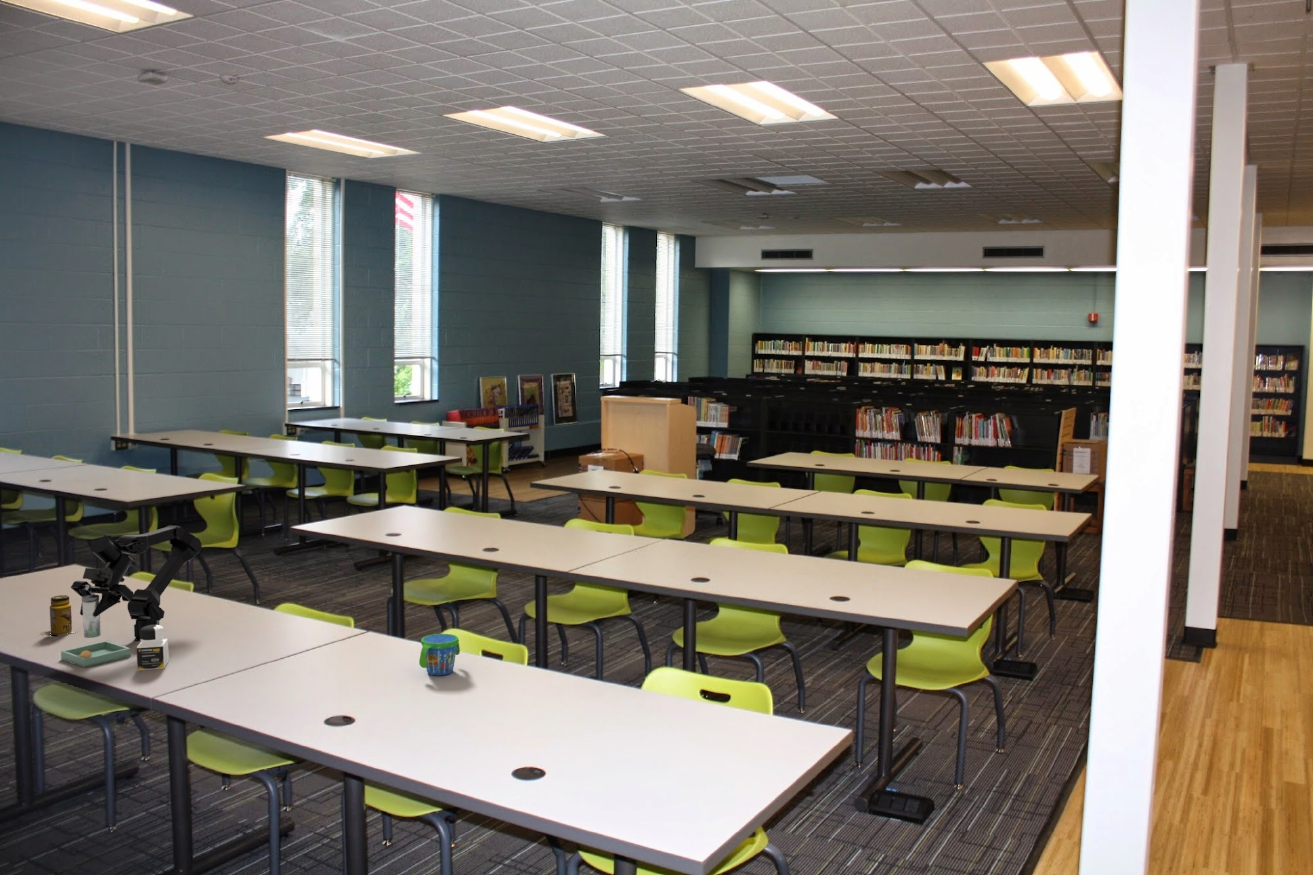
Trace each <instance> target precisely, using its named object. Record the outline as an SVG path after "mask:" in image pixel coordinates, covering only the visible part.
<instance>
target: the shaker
mask: <svg viewBox="0 0 1313 875" xmlns="http://www.w3.org/2000/svg"><path fill="white" fill-rule="evenodd" d="M99 602H100V595H99V594H95V595H87V596H83V597H81V605H82V606H83V616H82V621H83V622H82V623H83V625H82V626H83V638H85V639H92V638H94V639H95V638H97V637H101V634H102V633H101V632H102V631H101V614H99V615H98V616H96V617H94V616H93V614H94V611H95V609H96V608H97V606H98V604H99Z"/></svg>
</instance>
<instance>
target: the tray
mask: <svg viewBox="0 0 1313 875" xmlns="http://www.w3.org/2000/svg"><path fill="white" fill-rule="evenodd" d="M85 650H88V651H90V652H91V654H92V656H91V657H89V658H83V657H80V654H81V653H82V652H83V651H85ZM131 656H132V654H131V648H130V647H128V646H124V645H121V644H118V643H115V642H112V641H109V640H103V641H99V642H94V643H91V644H87V645H82V646H77V647H74V648H69V649H65V650H61V651H60V658H61V659H63V660H62V661H64V660H66V661H65V662H67V661H69V662H68V663H70V662H72V663H74V664H73V665H75V664H77V665H76V666H78V665H79V667H81V666H82V667H81V668H83V667H84V669H85V668H89V666H90V667H94V666H97V665H102V664H105V663H110V662H114V661H118V660H122V659H125V658H131ZM61 659H60V660H61ZM72 663H71V664H72Z"/></svg>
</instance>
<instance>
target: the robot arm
mask: <svg viewBox="0 0 1313 875" xmlns="http://www.w3.org/2000/svg"><path fill="white" fill-rule="evenodd" d="M164 542H168V544H169V545H170V546H171V547H170V556H169V557H168V558H167V560H166V561H165V562H164V564H163V565H162V566H161V568H160V569H159V571H158V572H157V573H156V574H155V576H154V577H153V579H152V580H151V581H150V582H149V584H148V586H146V588H144V589H142V588H137V589H136V590H135V591H134V592H133V591H132V589H130V588H129V587H128V586H127V585H126V584H120V583H124V582H125V580H126V579H125V578H124V575H125V574H126V572H127V571H128V569H129V568H130V567H136V566H137V562H136V560H135V559H136V558H135V557H131V556H129V555H141V554H142V553H144V552H146V551H147V550H149V548H150V547H152V546H155V545H158V544H161V543H164ZM202 548H203V545H202V541H201V540H200V538H198V537H197V536H195V535H194V534H192V533H191V532H188V531H187V530H185V529H184V528H183V527H182V526H180V525H167V526H165V527H163V528H159V529H156V530H152V531H149V532H145V533H142V534H124V535H120V536H119V537H118V539H117V540H115V539H114V538H113V536H112V535H110V534H104V535H103V537H100V538H99V539H97V540H95V541H94V542H93V543H92V544H91V547H90V551H91V552H92V553H93V554H94V555H95V556H96V557H97V558H98V559H99V560H101V561H102V562H103V563H105V564H106V563H107V564H106V565H105V566H102V567H101V568H90V567H85V569H84V571H83V572H84V573H83V575H82V579H84V580H85V581H84V580H75V581H73V583H72V585H71V586H70V589H72V590H73V591H74V592H75V593H76V594H77V595H78V596H80V597H81V598H82V597H83V596H87V595H96V594H101V598H100V599H99V604H98V606H97V608H96V609H95V611H94V614H93V616H94V617H96V616H98V615H99V614H100V615H101V614H103V613H104V612H105V611H107V610H108V609H110V608H111V607H114V606H115V605H117V604H120V603H121V600H122V601H123V602H128V603H127V611H128V614H129V616H130V619H131V620H135V624H133V631H134V641H141V634H140V630H141V628H143V627H145V626H148V625H160V620H162V619H164V617H165V610H163V608H161V607H160V606H161V596H162V594H163V593H164V592H165V590H166V589H167V587H168V586H169V585H170V584H171V582H172V581H173V579H174V578H175V577H176V576H177V574H178V572H179V571H180V570H181V568H182V567H183V565H185V563H187V562H189V561H191V560H193V559H195V557H196V556H197V555H198V554H199V553H200V552H201V550H202ZM86 579H87V580H90V583H91V584H92V585H93V586H92V585H91V584H90V583H89V582H88V581H86ZM79 614H80V615H81V616H82V617H83V606H82V604H81V606H80V612H79Z"/></svg>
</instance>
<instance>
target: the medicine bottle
mask: <svg viewBox="0 0 1313 875" xmlns="http://www.w3.org/2000/svg"><path fill="white" fill-rule="evenodd" d="M140 634H141V640H140V642H139V644H138V645H137V647H136V664H137V667H136V669H137V671H149V670H150V671H151V670H164V668H166V667H167V664H168V662H169V640H168V638H164V627H163V626H162V625H160V624H159V625H148V626H145V627H143V628H141V630H140Z"/></svg>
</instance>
